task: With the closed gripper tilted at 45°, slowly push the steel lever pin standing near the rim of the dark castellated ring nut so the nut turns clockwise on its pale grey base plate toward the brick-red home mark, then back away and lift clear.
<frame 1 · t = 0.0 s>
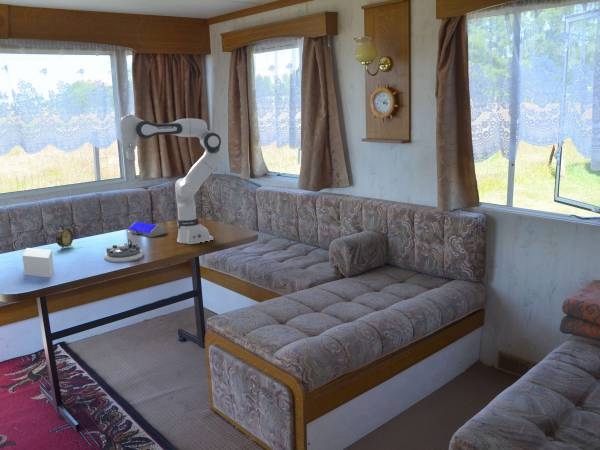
hand: (131, 167, 319), 48 cm above the table, tool pointing down, fingers open, 8 cm apart
blue screen device: (147, 234, 362), on the table
base plate: (124, 256, 307), on the table
white box: (39, 272, 282), on the table
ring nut: (122, 243, 305), point 8 cm above the table, hinge at 0.0°
alarm clock: (65, 248, 327), on the table
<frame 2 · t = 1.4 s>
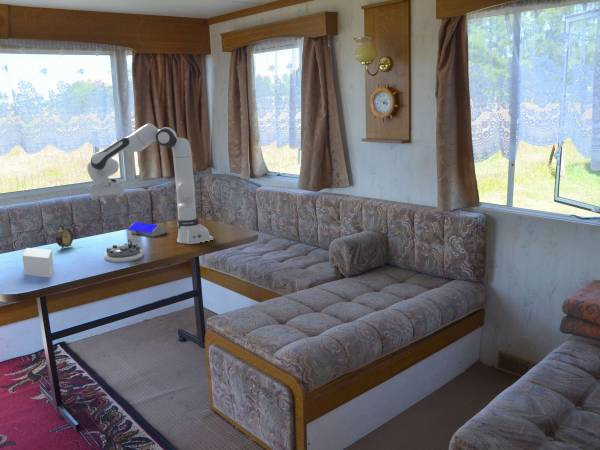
hand: (111, 202, 321), 28 cm above the table, tool tilted 45°, fingers open, 6 cm apart
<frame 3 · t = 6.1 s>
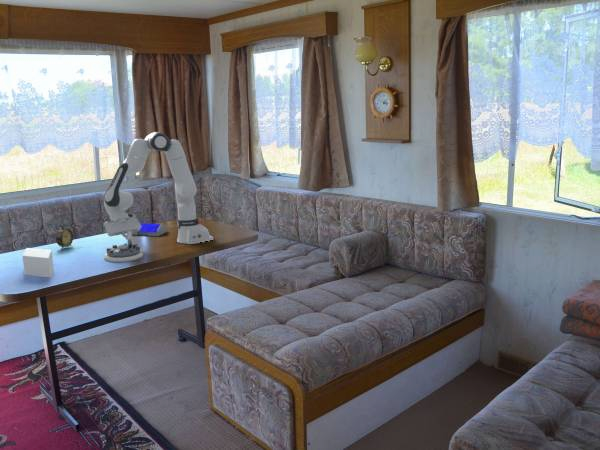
hand: (129, 238, 313), 8 cm above the table, tool tilted 45°, fingers closed, pressing on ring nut
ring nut: (122, 243, 305), point 8 cm above the table, hinge at 0.2°, touching gripper
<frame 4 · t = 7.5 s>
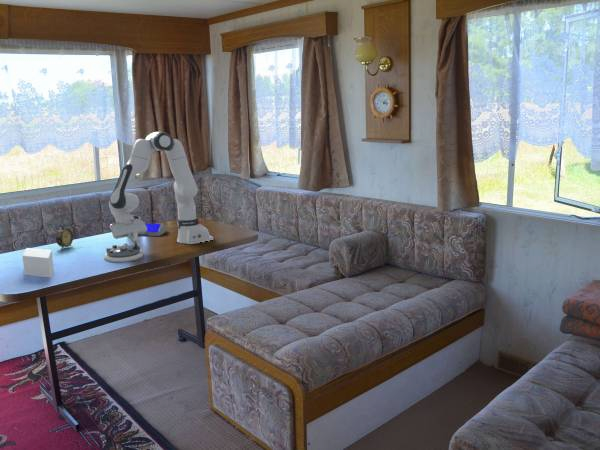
hand: (135, 240, 310), 8 cm above the table, tool tilted 45°, fingers closed, pressing on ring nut
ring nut: (122, 243, 305), point 8 cm above the table, hinge at 44.8°, touching gripper
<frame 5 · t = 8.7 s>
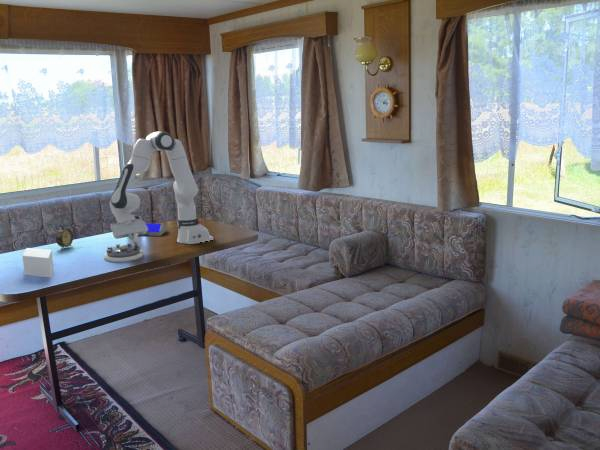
hand: (135, 241, 309), 8 cm above the table, tool tilted 45°, fingers closed
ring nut: (122, 243, 305), point 8 cm above the table, hinge at 60.1°, touching gripper
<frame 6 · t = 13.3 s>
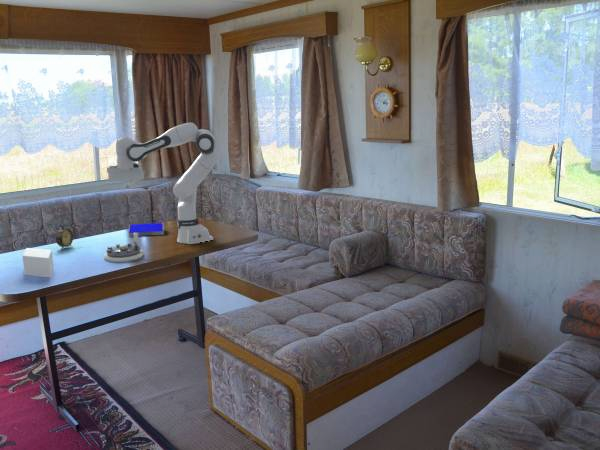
hand: (127, 188, 325), 35 cm above the table, tool pointing down, fingers closed
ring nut: (122, 243, 305), point 8 cm above the table, hinge at 60.3°
at the end: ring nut at +60° (first picture: +0°); blue screen device moved 1.3 cm from its start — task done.
